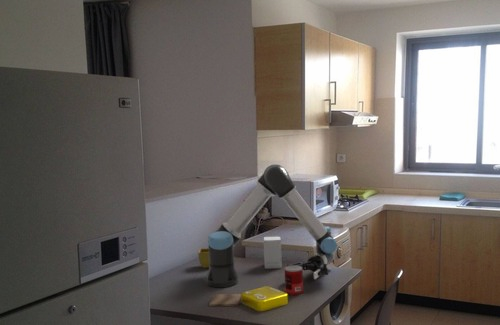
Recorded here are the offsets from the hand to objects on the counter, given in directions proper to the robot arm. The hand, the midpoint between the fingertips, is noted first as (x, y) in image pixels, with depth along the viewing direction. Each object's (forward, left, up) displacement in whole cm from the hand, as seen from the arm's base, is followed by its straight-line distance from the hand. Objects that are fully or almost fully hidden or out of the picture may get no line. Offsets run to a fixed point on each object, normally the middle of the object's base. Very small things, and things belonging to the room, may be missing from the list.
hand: (300, 274), depth 215 cm
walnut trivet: (-32, -15, -6) cm, 36 cm away
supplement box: (-14, +37, -7) cm, 40 cm away
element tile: (-15, -18, -7) cm, 24 cm away
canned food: (-3, -5, -7) cm, 9 cm away
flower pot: (-49, +38, -7) cm, 62 cm away
